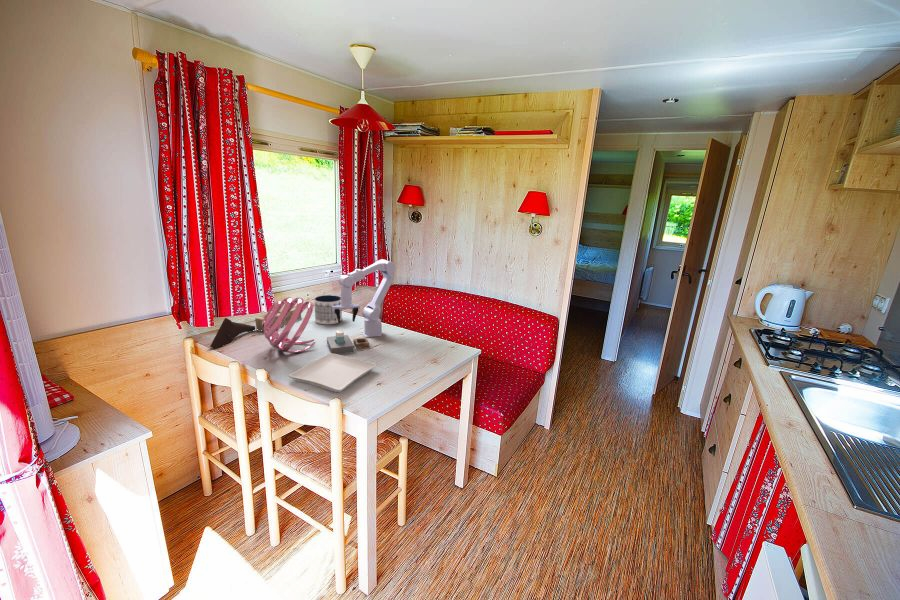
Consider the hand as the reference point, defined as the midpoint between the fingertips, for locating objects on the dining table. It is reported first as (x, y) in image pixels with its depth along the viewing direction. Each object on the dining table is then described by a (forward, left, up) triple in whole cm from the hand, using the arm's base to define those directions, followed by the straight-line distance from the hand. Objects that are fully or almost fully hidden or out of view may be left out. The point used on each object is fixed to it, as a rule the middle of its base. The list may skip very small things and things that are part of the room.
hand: (346, 321), depth 207 cm
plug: (+5, +10, -10) cm, 15 cm away
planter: (+5, -35, -11) cm, 37 cm away
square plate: (+13, +41, -11) cm, 44 cm away
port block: (+5, +10, -10) cm, 15 cm away
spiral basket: (+29, +4, -11) cm, 31 cm away
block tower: (+32, -36, -11) cm, 49 cm away
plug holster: (-6, +10, -10) cm, 15 cm away
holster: (+55, -17, -11) cm, 59 cm away
